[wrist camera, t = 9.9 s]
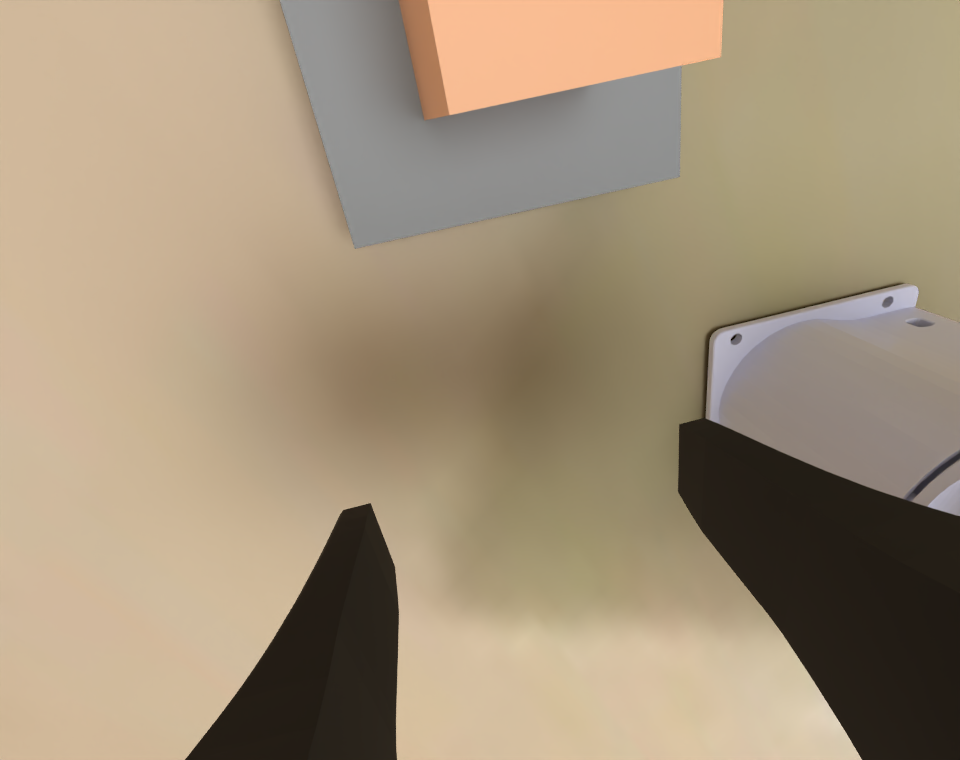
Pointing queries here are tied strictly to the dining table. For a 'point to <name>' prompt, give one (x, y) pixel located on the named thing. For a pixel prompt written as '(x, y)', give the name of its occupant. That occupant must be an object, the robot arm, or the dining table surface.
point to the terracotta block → (547, 45)
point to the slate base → (465, 131)
